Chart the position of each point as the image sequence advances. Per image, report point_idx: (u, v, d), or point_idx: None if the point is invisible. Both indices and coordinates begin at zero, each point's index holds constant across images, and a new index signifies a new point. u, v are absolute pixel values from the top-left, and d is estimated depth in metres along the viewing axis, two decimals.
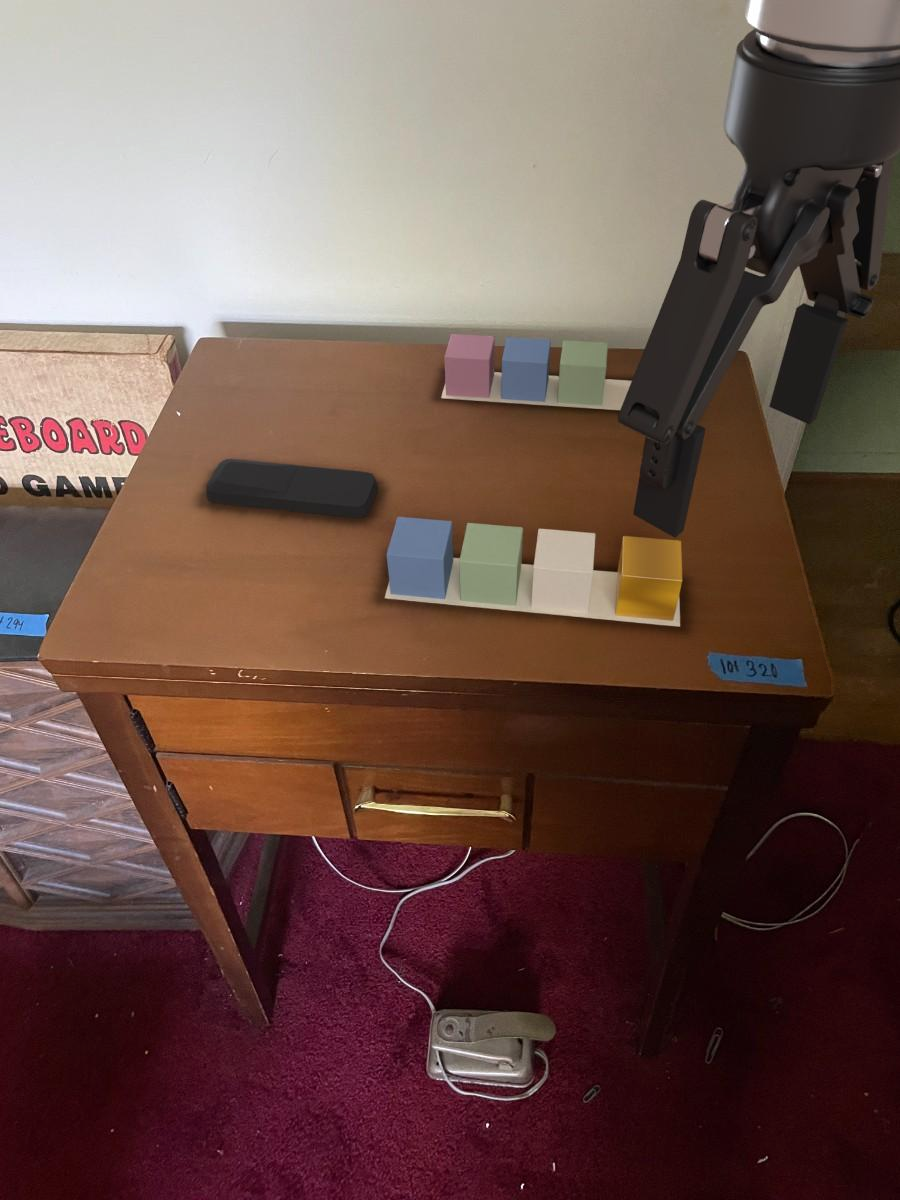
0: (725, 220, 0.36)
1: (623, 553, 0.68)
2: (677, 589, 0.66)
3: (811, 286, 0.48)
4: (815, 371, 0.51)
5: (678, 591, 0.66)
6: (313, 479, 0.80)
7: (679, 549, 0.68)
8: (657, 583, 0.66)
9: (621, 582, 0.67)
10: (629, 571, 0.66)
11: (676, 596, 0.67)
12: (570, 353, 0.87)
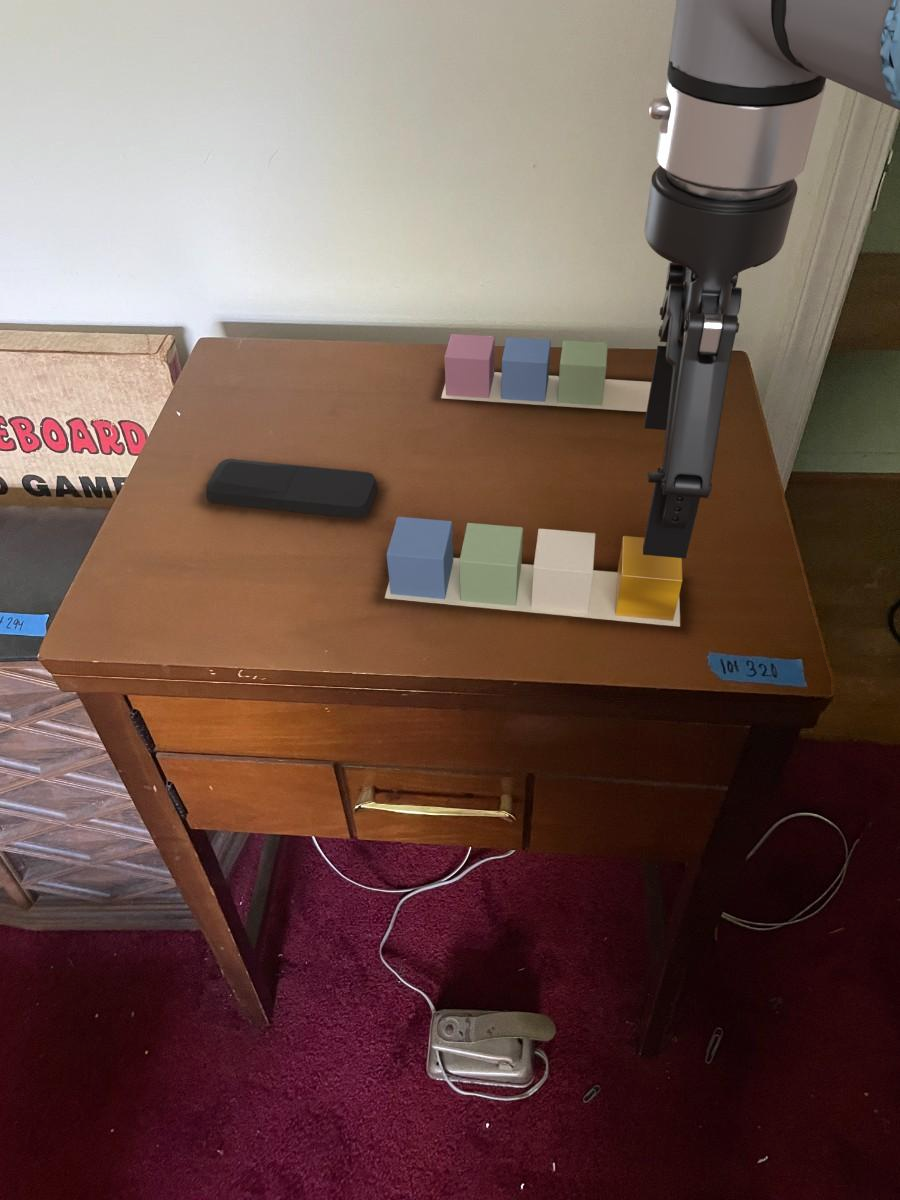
0: (719, 324, 0.46)
1: (623, 553, 0.68)
2: (677, 589, 0.66)
3: None
4: None
5: (678, 591, 0.66)
6: (313, 479, 0.80)
7: None
8: (657, 583, 0.66)
9: (621, 582, 0.67)
10: (629, 571, 0.66)
11: (676, 596, 0.67)
12: (570, 353, 0.87)
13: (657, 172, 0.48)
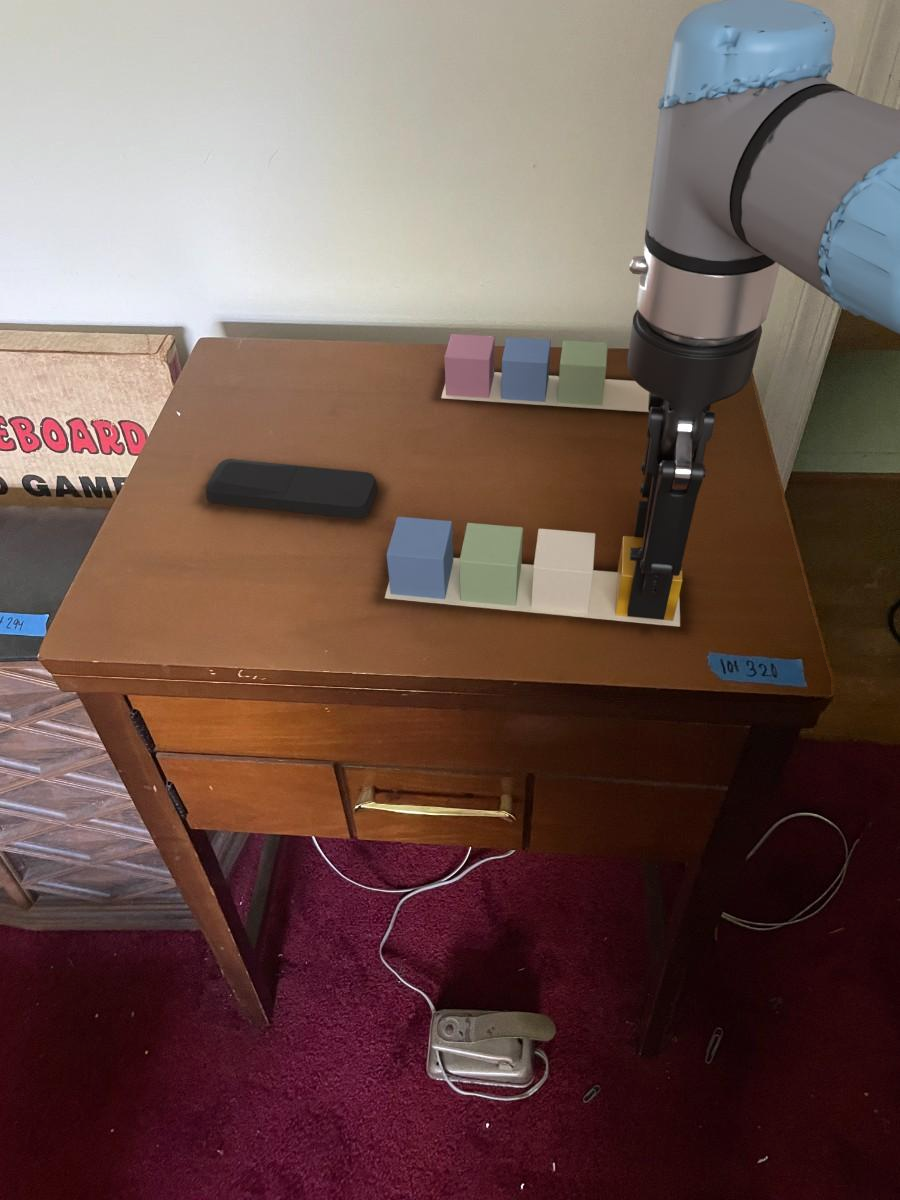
0: (688, 476, 0.53)
1: (623, 553, 0.68)
2: (677, 589, 0.66)
3: (651, 482, 0.65)
4: None
5: (678, 591, 0.66)
6: (313, 479, 0.80)
7: None
8: None
9: (621, 582, 0.67)
10: (629, 572, 0.66)
11: (676, 596, 0.67)
12: (570, 353, 0.87)
13: (637, 315, 0.54)
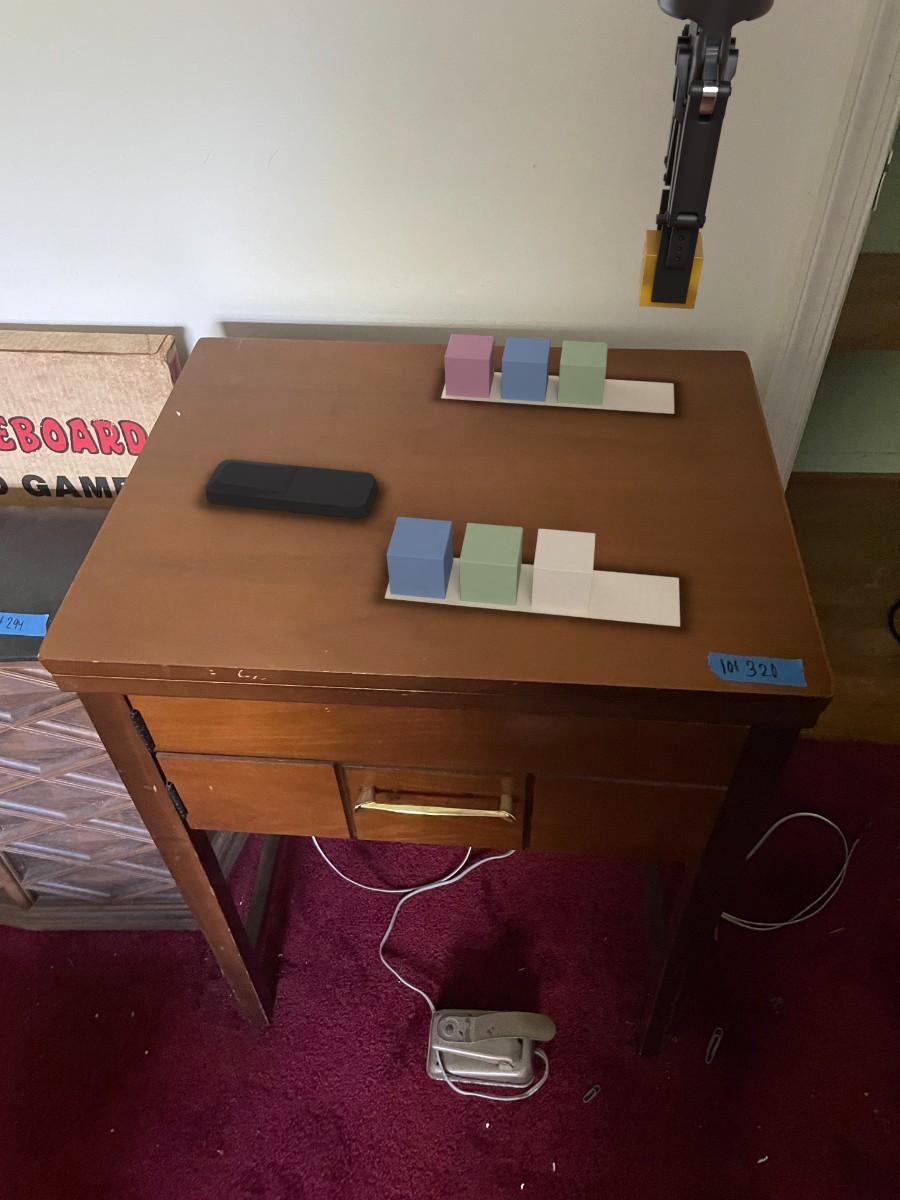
0: (715, 92, 0.57)
1: (647, 240, 0.71)
2: (698, 268, 0.70)
3: (674, 162, 0.69)
4: None
5: (699, 271, 0.70)
6: (313, 479, 0.80)
7: (700, 237, 0.71)
8: None
9: (645, 263, 0.70)
10: (653, 252, 0.70)
11: (697, 277, 0.70)
12: (570, 353, 0.87)
13: None
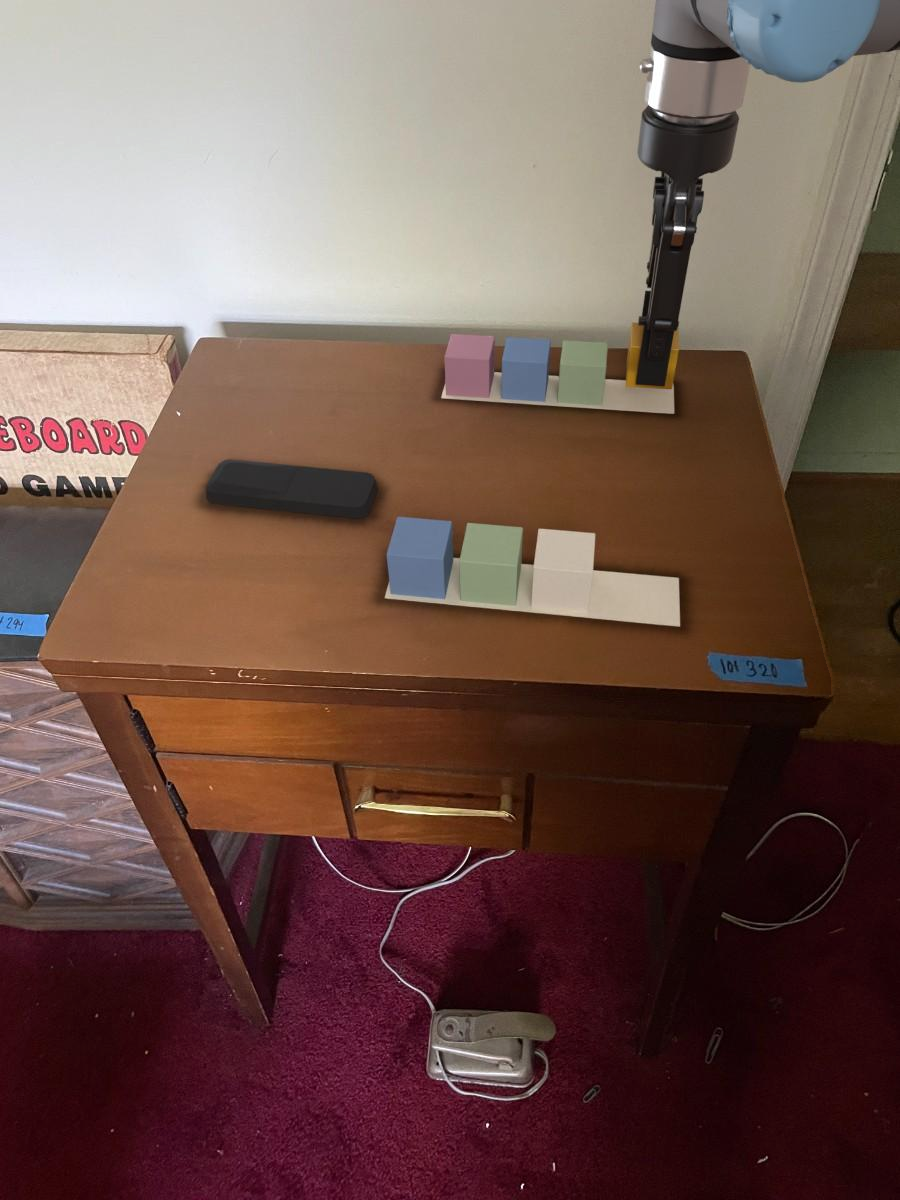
0: (683, 231, 0.71)
1: (632, 333, 0.85)
2: (675, 358, 0.83)
3: None
4: None
5: (675, 359, 0.84)
6: (313, 480, 0.80)
7: (676, 330, 0.85)
8: None
9: (630, 353, 0.84)
10: (637, 344, 0.84)
11: (674, 364, 0.84)
12: (570, 353, 0.87)
13: (645, 110, 0.71)
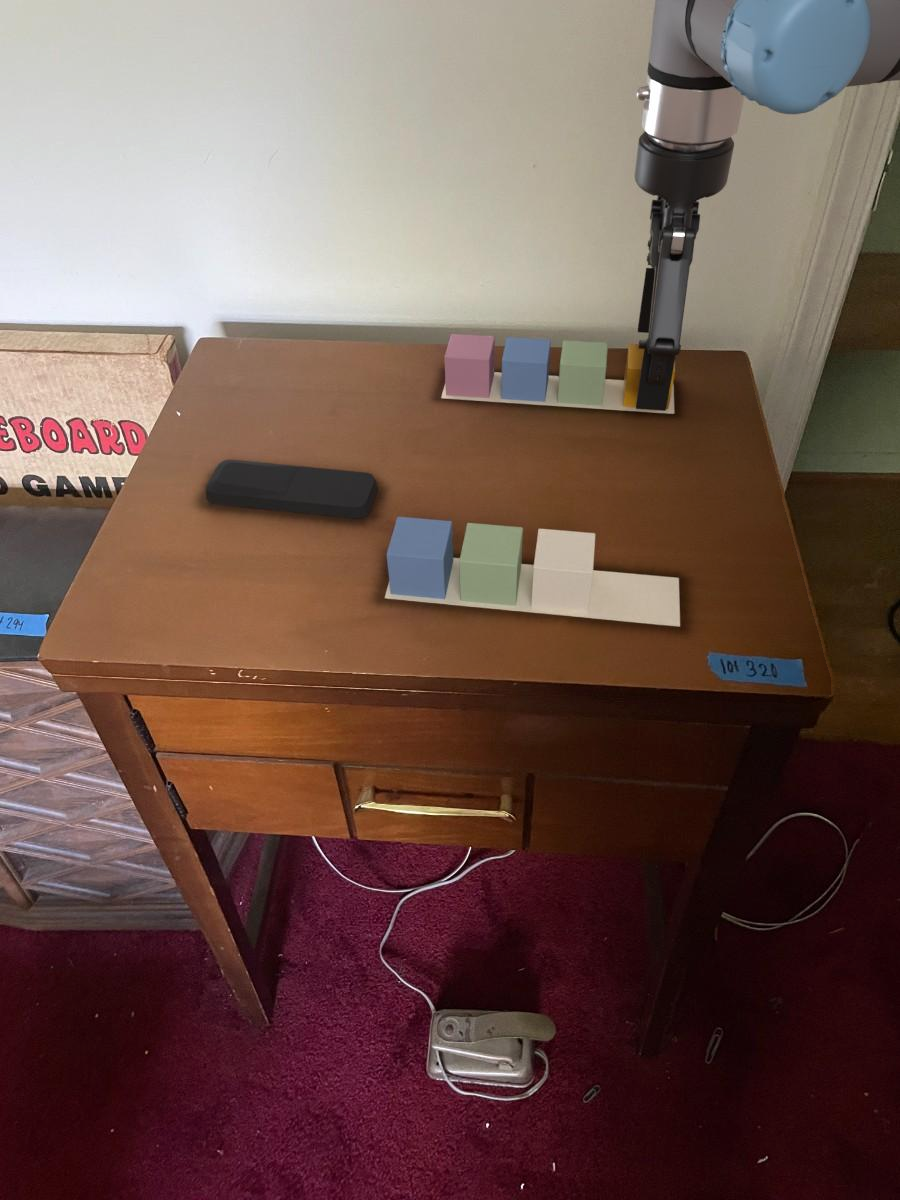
0: (683, 233, 0.71)
1: (629, 354, 0.87)
2: (671, 379, 0.85)
3: None
4: None
5: (672, 381, 0.85)
6: (313, 480, 0.80)
7: None
8: None
9: (627, 374, 0.86)
10: (634, 365, 0.85)
11: (670, 385, 0.86)
12: (570, 353, 0.87)
13: (642, 135, 0.72)
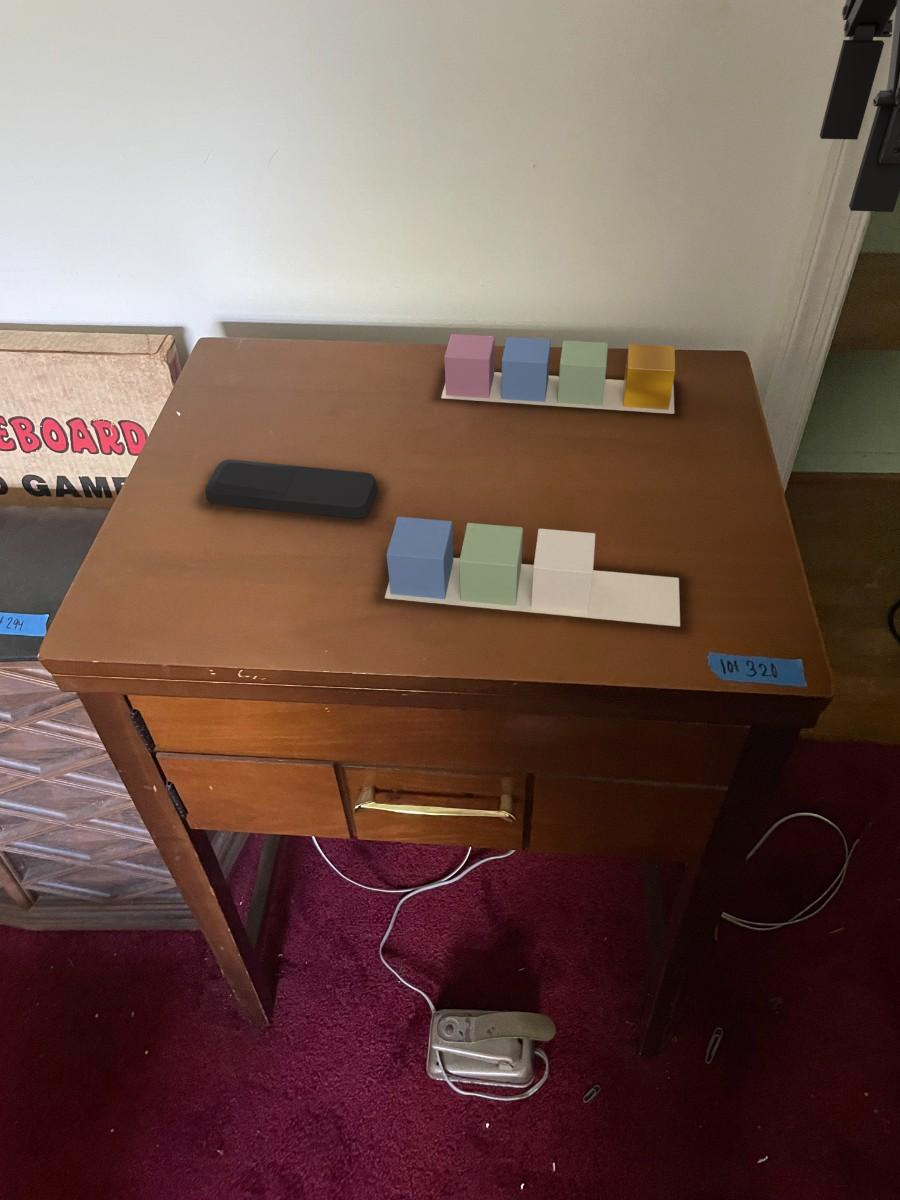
0: None
1: (629, 354, 0.87)
2: (671, 379, 0.85)
3: (860, 18, 0.63)
4: (862, 91, 0.67)
5: (672, 381, 0.85)
6: (313, 480, 0.80)
7: (673, 351, 0.87)
8: (655, 373, 0.85)
9: (627, 374, 0.86)
10: (634, 365, 0.85)
11: (670, 385, 0.86)
12: (570, 353, 0.87)
13: None
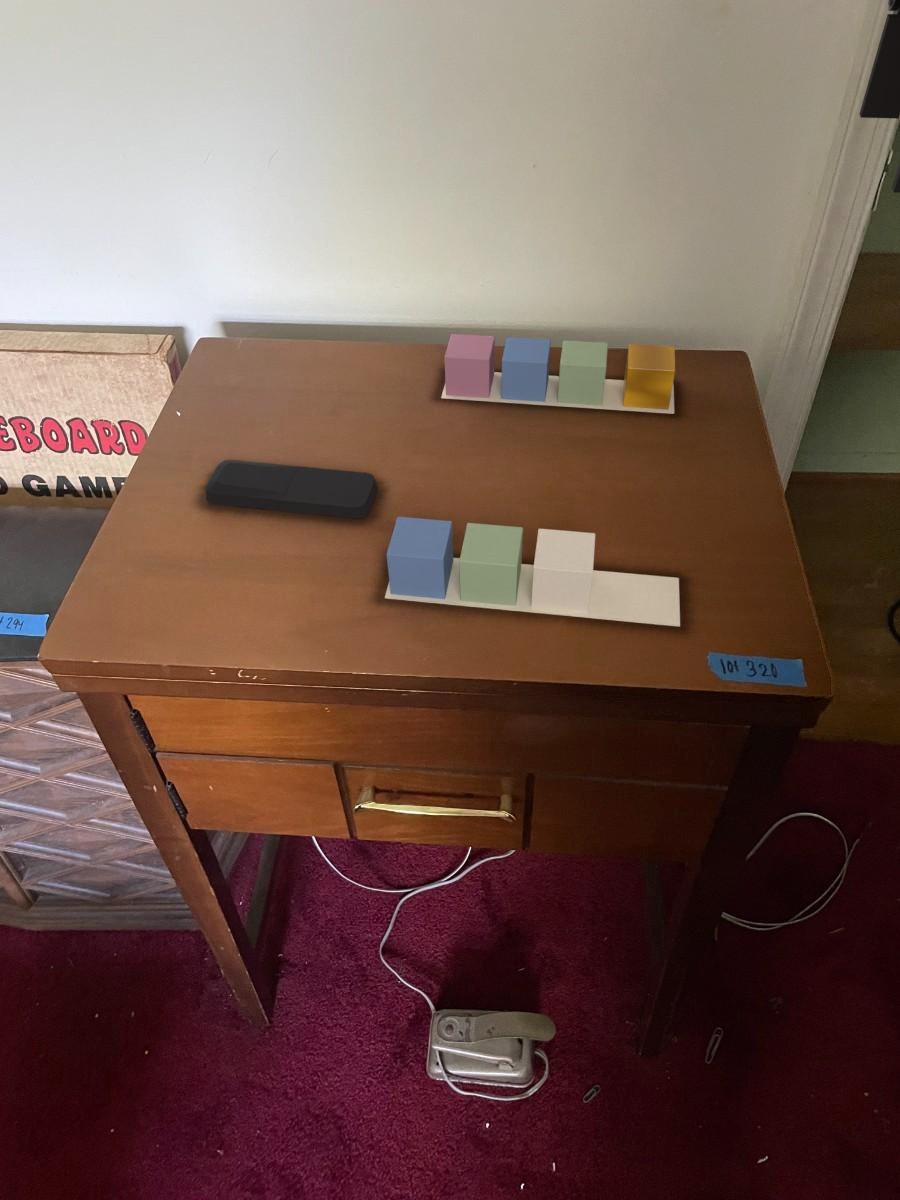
0: None
1: (629, 354, 0.87)
2: (671, 379, 0.85)
3: None
4: None
5: (672, 381, 0.85)
6: (313, 480, 0.80)
7: (673, 351, 0.87)
8: (655, 373, 0.85)
9: (627, 374, 0.86)
10: (634, 365, 0.85)
11: (670, 385, 0.86)
12: (570, 353, 0.87)
13: None
